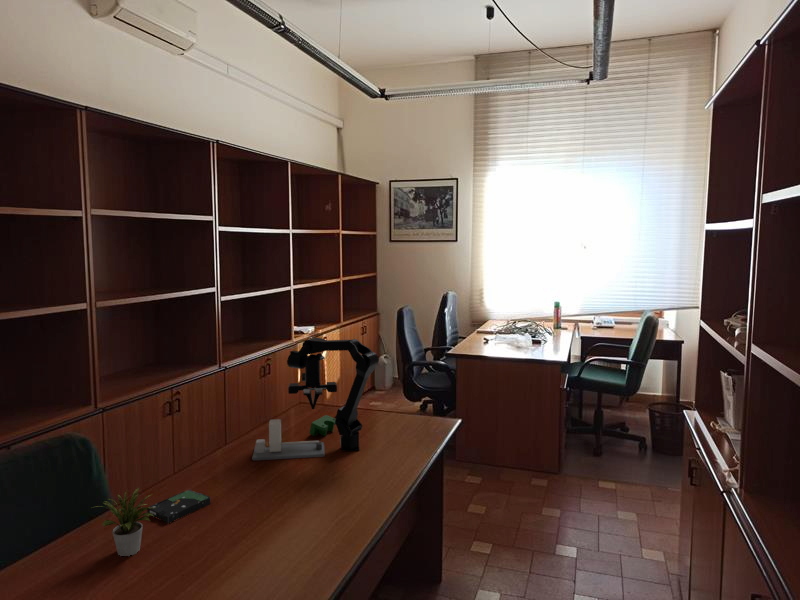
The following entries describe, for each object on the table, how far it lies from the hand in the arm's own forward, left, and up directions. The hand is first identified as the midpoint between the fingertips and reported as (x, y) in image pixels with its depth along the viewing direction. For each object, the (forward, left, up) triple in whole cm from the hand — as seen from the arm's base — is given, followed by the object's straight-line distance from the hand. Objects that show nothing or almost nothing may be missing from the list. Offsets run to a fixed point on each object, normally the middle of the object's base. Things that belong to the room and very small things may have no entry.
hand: (313, 408), depth 227 cm
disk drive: (+40, +52, -14) cm, 67 cm away
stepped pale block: (+14, +11, -11) cm, 21 cm away
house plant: (+48, +75, -13) cm, 90 cm away
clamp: (-4, -8, -13) cm, 16 cm away
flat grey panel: (+9, +11, -13) cm, 19 cm away
